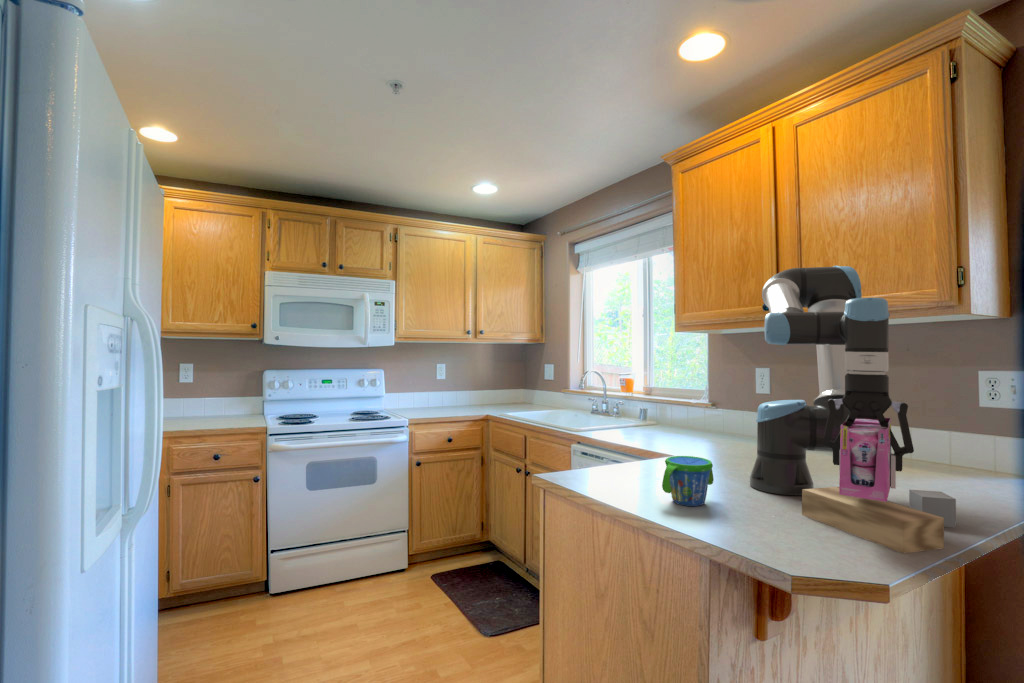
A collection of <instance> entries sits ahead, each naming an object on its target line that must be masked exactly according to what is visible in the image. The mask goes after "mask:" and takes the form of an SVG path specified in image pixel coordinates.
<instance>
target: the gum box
mask: <svg viewBox="0 0 1024 683" xmlns="http://www.w3.org/2000/svg"><path fill="white" fill-rule="evenodd" d="M885 419H886V421H887V423H888V427H882V426H881V425H880V423H879V421H878V419H870V418H857V417H856V419H855V421H854V422H853V424H852V426H849V427H847V426H845V423H846V421H845V422H844V423H843V424H842V425H841V433H840V481H839V482H838V483H839V486H838V487H839V494H840V495H845V496H851V497H858V498H865V499H871V500H878V501H883V502H887V501H888V499H889V494H890V489H891V487H890V453H892V446H891V444H890V429H891V430H892V417H885ZM889 427H890V428H889Z"/></svg>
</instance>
